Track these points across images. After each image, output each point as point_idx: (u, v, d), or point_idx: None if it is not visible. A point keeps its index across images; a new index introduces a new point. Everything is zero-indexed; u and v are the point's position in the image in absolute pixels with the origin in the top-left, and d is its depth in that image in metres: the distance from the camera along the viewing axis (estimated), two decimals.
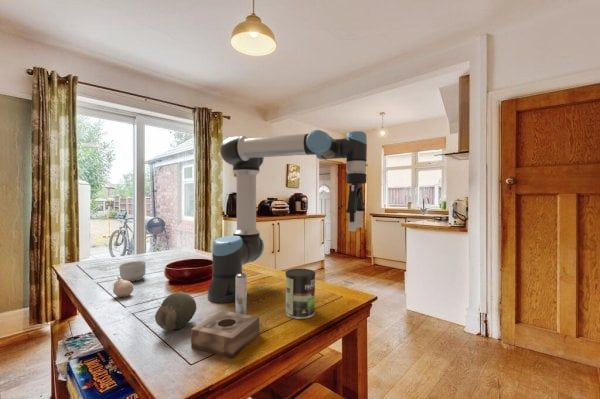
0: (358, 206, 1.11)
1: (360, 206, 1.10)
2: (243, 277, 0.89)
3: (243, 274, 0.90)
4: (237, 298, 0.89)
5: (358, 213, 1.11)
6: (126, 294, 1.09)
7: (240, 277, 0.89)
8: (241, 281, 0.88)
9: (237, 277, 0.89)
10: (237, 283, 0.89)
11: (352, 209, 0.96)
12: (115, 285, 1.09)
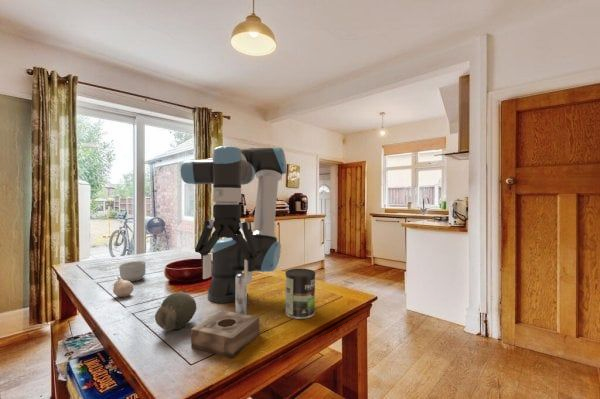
0: None
1: None
2: (243, 277, 0.89)
3: (243, 274, 0.90)
4: (237, 298, 0.89)
5: None
6: (126, 294, 1.09)
7: (240, 277, 0.89)
8: (241, 281, 0.88)
9: (237, 277, 0.89)
10: (237, 283, 0.89)
11: None
12: (115, 285, 1.09)
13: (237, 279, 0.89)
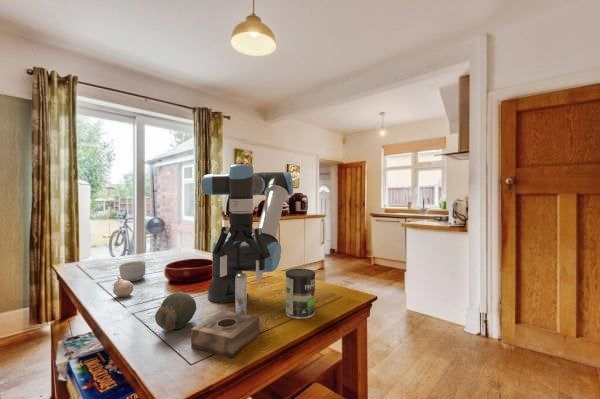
0: None
1: None
2: (243, 277, 0.89)
3: (243, 274, 0.90)
4: (237, 298, 0.89)
5: None
6: (126, 294, 1.09)
7: (240, 277, 0.89)
8: (241, 281, 0.88)
9: (237, 277, 0.89)
10: (237, 283, 0.89)
11: None
12: (115, 285, 1.09)
13: (237, 279, 0.89)
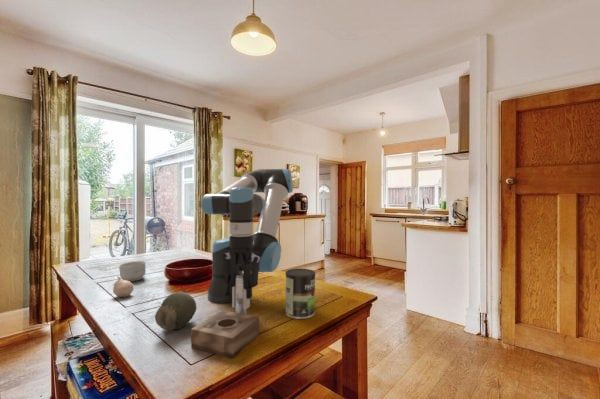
0: None
1: None
2: (243, 277, 0.89)
3: (243, 274, 0.90)
4: (237, 298, 0.89)
5: None
6: (126, 294, 1.09)
7: (240, 277, 0.88)
8: (241, 281, 0.88)
9: (237, 277, 0.89)
10: (237, 283, 0.89)
11: None
12: (115, 285, 1.09)
13: (237, 279, 0.89)
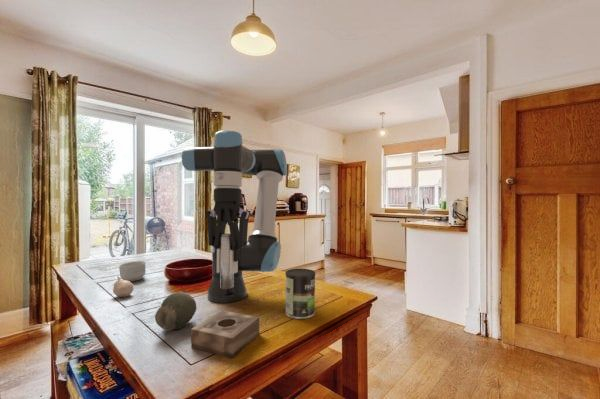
0: None
1: None
2: (229, 236, 0.75)
3: None
4: (222, 261, 0.75)
5: None
6: (126, 294, 1.09)
7: (226, 236, 0.75)
8: (227, 241, 0.75)
9: (222, 236, 0.75)
10: (222, 243, 0.75)
11: None
12: (115, 285, 1.09)
13: (222, 239, 0.75)
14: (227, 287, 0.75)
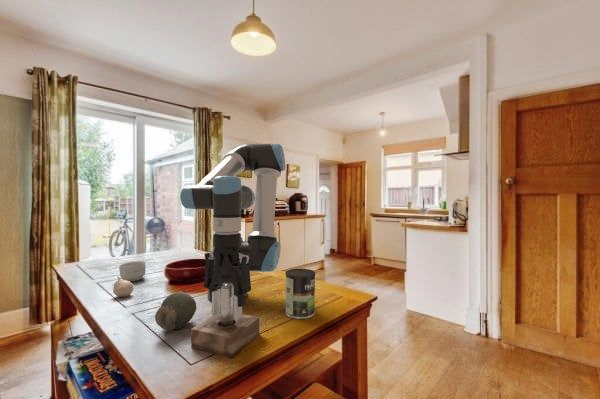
0: None
1: None
2: (229, 288, 0.75)
3: (229, 284, 0.77)
4: (222, 313, 0.75)
5: None
6: (126, 294, 1.09)
7: (226, 288, 0.75)
8: (227, 293, 0.75)
9: (222, 288, 0.75)
10: (222, 295, 0.75)
11: None
12: (115, 285, 1.09)
13: (222, 290, 0.75)
14: None
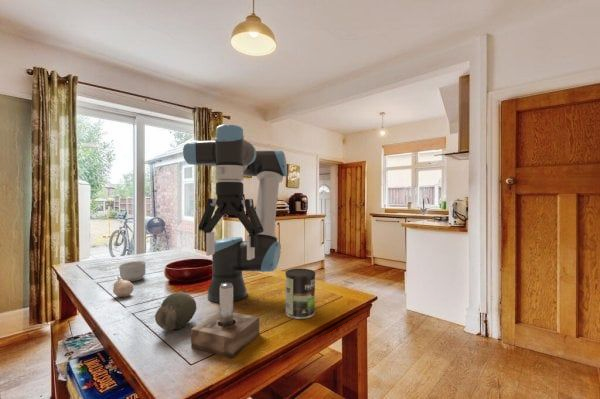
0: None
1: None
2: (228, 288, 0.75)
3: (229, 284, 0.77)
4: (221, 312, 0.75)
5: None
6: (126, 294, 1.09)
7: (225, 288, 0.75)
8: (226, 292, 0.75)
9: (221, 288, 0.75)
10: (221, 295, 0.75)
11: None
12: (115, 285, 1.09)
13: (221, 290, 0.75)
14: None
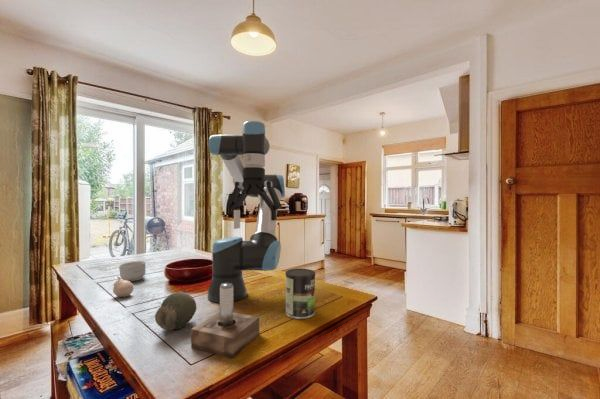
0: None
1: None
2: (229, 288, 0.75)
3: (229, 284, 0.77)
4: (222, 312, 0.75)
5: None
6: (126, 294, 1.09)
7: (225, 288, 0.75)
8: (226, 292, 0.75)
9: (222, 288, 0.75)
10: (222, 295, 0.75)
11: None
12: (115, 285, 1.09)
13: (222, 290, 0.75)
14: None
